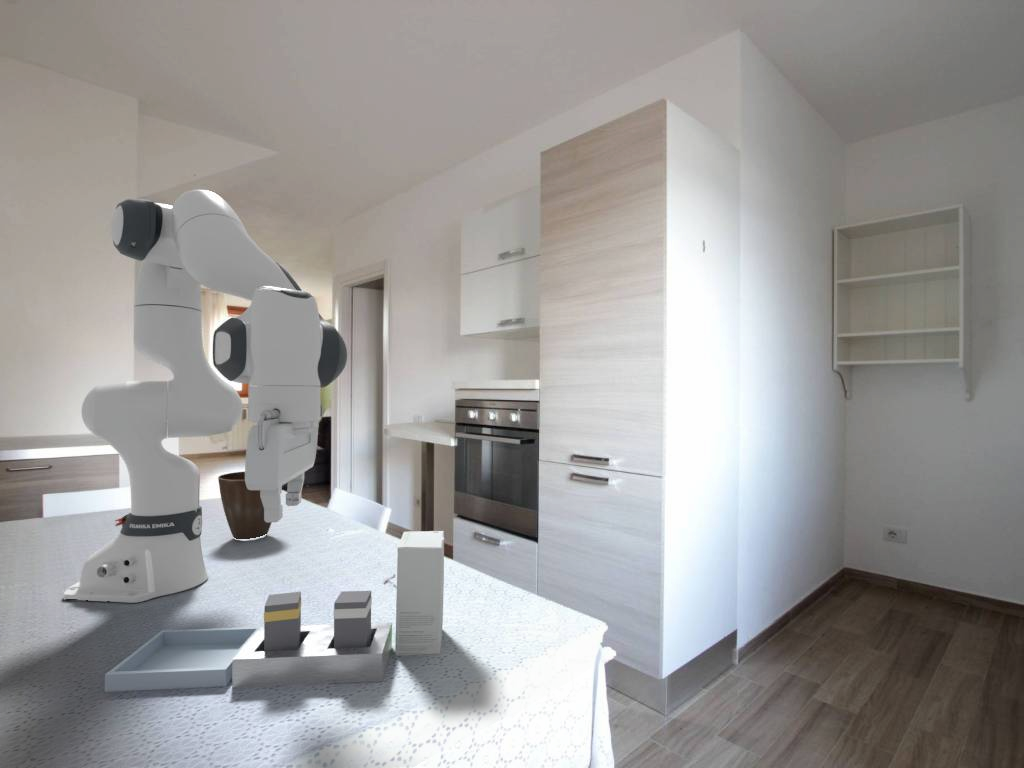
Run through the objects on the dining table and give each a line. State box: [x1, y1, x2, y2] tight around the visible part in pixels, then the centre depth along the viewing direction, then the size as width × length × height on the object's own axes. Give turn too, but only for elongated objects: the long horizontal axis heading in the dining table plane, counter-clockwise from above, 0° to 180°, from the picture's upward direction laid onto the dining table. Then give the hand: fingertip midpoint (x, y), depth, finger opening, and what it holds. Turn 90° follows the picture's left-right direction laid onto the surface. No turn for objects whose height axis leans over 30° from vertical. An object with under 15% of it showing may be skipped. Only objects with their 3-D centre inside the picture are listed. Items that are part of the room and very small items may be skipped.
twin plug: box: [333, 590, 373, 648], centre depth 70 cm, size 4×4×9 cm
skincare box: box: [394, 530, 445, 656], centre depth 77 cm, size 8×7×16 cm
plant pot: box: [217, 471, 273, 539], centre depth 135 cm, size 15×15×16 cm
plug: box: [263, 591, 302, 651], centre depth 70 cm, size 4×4×9 cm
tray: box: [104, 626, 262, 693], centre depth 70 cm, size 14×12×3 cm
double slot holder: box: [231, 622, 393, 689], centre depth 70 cm, size 18×9×4 cm, turn 95°
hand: (284, 512), depth 70 cm, fingers open, 8 cm apart
